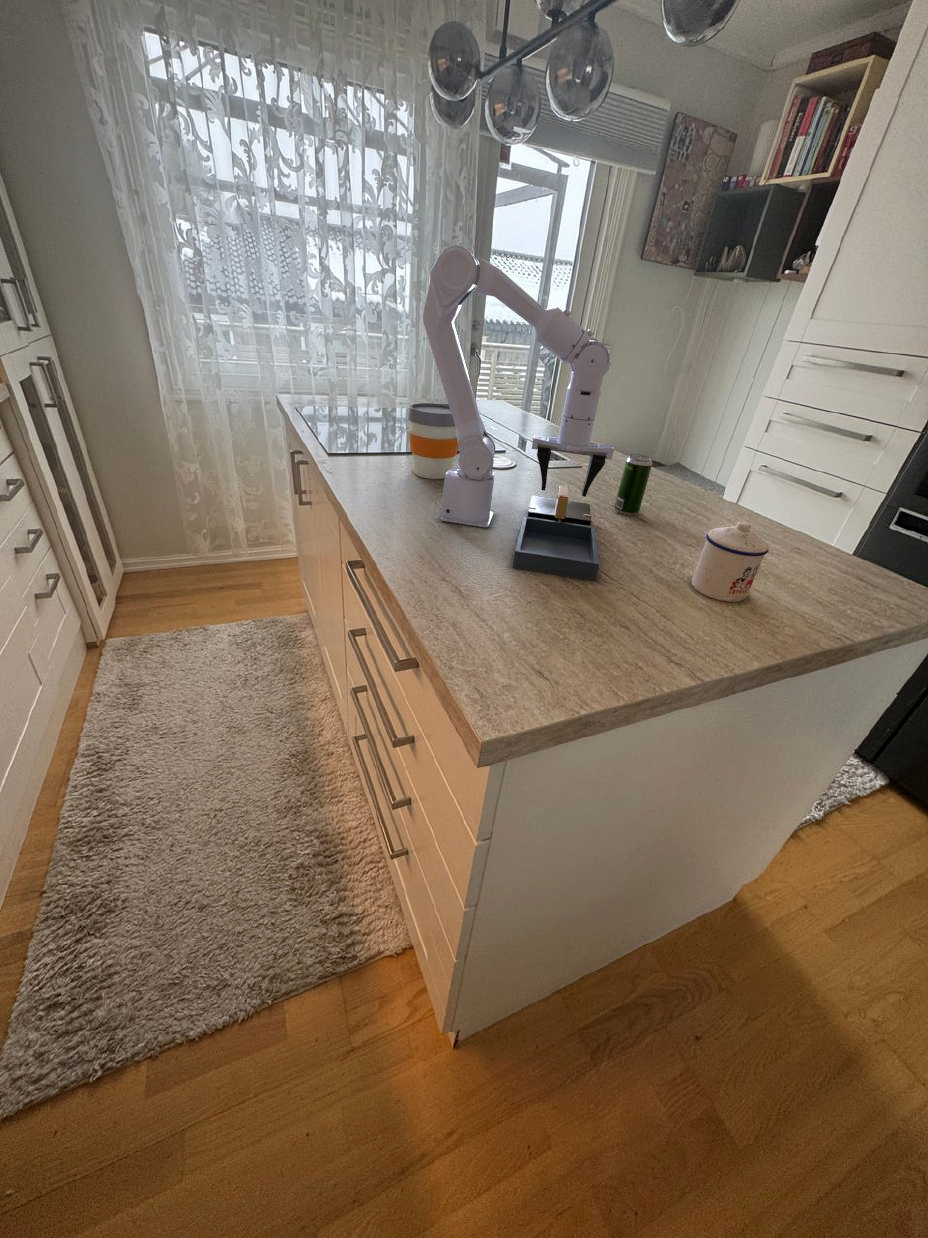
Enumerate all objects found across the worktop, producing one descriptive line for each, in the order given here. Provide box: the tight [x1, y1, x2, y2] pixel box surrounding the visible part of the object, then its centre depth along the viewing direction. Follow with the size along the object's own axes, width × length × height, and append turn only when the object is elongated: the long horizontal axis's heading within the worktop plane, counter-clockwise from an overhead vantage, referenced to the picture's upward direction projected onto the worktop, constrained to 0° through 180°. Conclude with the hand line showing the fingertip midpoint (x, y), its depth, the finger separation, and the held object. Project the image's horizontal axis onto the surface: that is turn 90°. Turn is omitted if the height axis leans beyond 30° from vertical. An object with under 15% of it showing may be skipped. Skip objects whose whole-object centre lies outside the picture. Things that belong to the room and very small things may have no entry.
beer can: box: [614, 453, 653, 517], centre depth 111 cm, size 5×5×12 cm
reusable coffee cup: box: [407, 402, 459, 480], centre depth 122 cm, size 13×13×15 cm
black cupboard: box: [527, 495, 592, 526], centre depth 102 cm, size 14×12×4 cm
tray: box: [512, 516, 600, 582], centre depth 91 cm, size 14×17×3 cm
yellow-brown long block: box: [555, 484, 570, 519], centre depth 99 cm, size 8×2×4 cm, turn 170°
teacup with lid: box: [691, 521, 770, 603], centre depth 83 cm, size 12×9×12 cm
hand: (563, 491), depth 98 cm, fingers open, 7 cm apart
